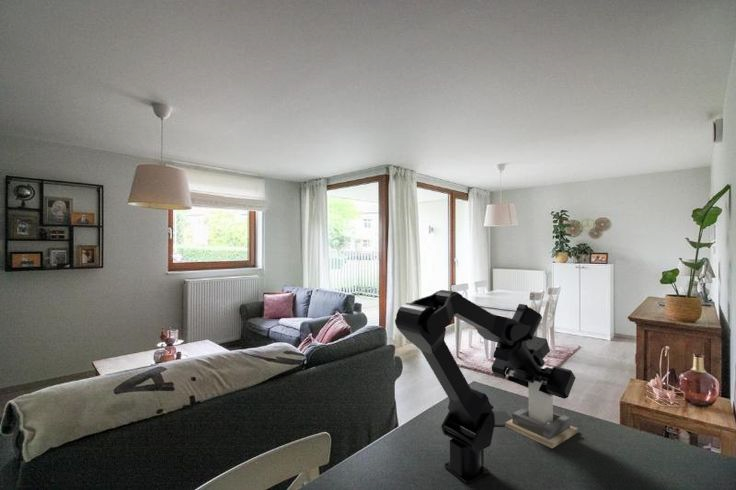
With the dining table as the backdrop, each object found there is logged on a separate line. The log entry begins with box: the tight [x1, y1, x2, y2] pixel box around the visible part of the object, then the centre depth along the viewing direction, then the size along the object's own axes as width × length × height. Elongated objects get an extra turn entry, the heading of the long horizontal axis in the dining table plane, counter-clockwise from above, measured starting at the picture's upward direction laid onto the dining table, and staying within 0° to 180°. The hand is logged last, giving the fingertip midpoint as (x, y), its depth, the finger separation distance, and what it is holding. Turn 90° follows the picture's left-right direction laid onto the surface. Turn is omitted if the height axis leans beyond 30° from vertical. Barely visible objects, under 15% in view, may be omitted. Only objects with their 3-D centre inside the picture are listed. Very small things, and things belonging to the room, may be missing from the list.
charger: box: [528, 364, 554, 424], centre depth 88 cm, size 4×4×13 cm
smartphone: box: [493, 410, 512, 427], centre depth 93 cm, size 7×1×15 cm
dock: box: [504, 405, 579, 449], centre depth 88 cm, size 12×12×4 cm
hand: (543, 391), depth 89 cm, fingers closed on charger, 4 cm apart
